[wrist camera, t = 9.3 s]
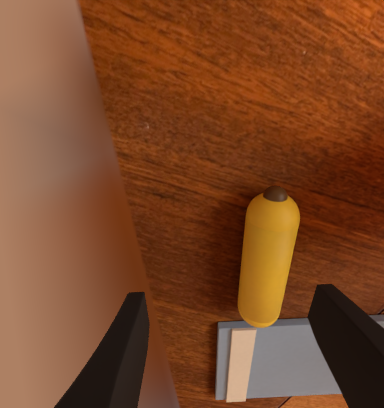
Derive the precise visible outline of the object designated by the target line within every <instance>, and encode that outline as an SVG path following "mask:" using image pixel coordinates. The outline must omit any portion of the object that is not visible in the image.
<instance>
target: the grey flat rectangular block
mask: <svg viewBox="0 0 384 408" xmlns="http://www.w3.org/2000/svg"><path fill="white" fill-rule="evenodd" d="M369 316H370V317H371V318H372V319H373V320H375V321H376V322H377V323H378V324H379V325H381V326H382V327H383V328H384V315H369ZM323 394H342V393H341V391H340V389H339V387H338V385H337V383H336V381H335V379H334V377H333V375H332V373H331V371H330V369H329V367H328V365H327V363H326V361H325V359H324V357H323V355H322V352H321V350H320V348H319V346H318V344H317V342H316V339H315V337H314V334H313V331H312V329H311V326H310V323H309V320H308V318H297V319H277V320H276V321H275V322H274V323H273V324H272V325H270V326H268V327H265V328H257V327H254V326H251V325H250V324H248V323H247V322H246V321H230V322H218V330H217V355H216V380H215V399H216V400H224V399H226V402H241V401H246V398H263V397H283V396H303V395H323Z"/></svg>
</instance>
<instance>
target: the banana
mask: <svg viewBox="0 0 384 408" xmlns="http://www.w3.org/2000/svg"><path fill="white" fill-rule="evenodd" d="M299 222H300V213H299V209H298V207H297V204H296V203H295V202H294V200H293V199H292V198H290V197H289V196H288V195H287V192H286V191H285V190H284V189H283V188H282V187H280V186H271V187H269V188H267V189H266V190H265V192H264V193H261V194H259V195H257V196H256V197H255V198H254V199H253V200H252V201H251V202H250V204H249V205H248V208H247V211H246V218H245V229H244V240H243V250H242V261H241V272H240V282H239V293H238V309H239V312H240V315H241V316H242V318H243V319H244V320H245V321H246V322H247V323H248V324H250V325H251V326H254V327H257V328H265V327H268V326H270V325H272V324H273V323H274V322H275V321H276V320H277V319H278V317H279V314H280V310H281V306H282V301H283V297H284V292H285V287H286V283H287V278H288V273H289V269H290V264H291V260H292V255H293V250H294V246H295V241H296V236H297V232H298V227H299Z"/></svg>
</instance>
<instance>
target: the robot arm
mask: <svg viewBox="0 0 384 408" xmlns="http://www.w3.org/2000/svg"><path fill="white" fill-rule="evenodd" d="M308 320H309V323H310V326H311V329H312V331H313V334H314V337H315V339H316V342H317V344H318V346H319V348H320V350H321V352H322V355H323V357H324V359H325V361H326V363H327V365H328V367H329V369H330V371H331V373H332V375H333V377H334V379H335V381H336V383H337V385H338V387H339V389H340V391H341V393H342V395H343V397H344V399H345V401H346V403H347V405H348V407H349V408H384V328H383V327H382V326H381V325H379V324H378V323H377V322H376V321H375V320H373V319H372V318H371V317H370V316H369V315H367V314H366V313H365V312H364V311H363V310H362V309H360V308H359V307H358V306H357V305H356V304H355V303H353V302H352V301H351V300H350V299H349V298H348V297H347V296H345V295H344V294H343V293H342V292H341V291H340V290H338V289H337V288H336V287H335V286H334V285H332V284H320V285H317V287H316V290H315V294H314V297H313V301H312V304H311V307H310V311H309V314H308ZM148 337H149V318H148V312H147V305H146V300H145V293H144V292H132V293H129V294H127V296H126V298H125V301H124V302H123V304H122V306H121V308H120V310H119V312H118V314H117V316H116V317H115V319H114V321H113V323H112V324H111V326H110V328H109V329H108V331H107V333H106V334H105V336H104V337H103V339H102V341H101V342H100V344H99V346H98V347H97V349H96V350H95V352H94V353H93V355H92V356H91V358H90V359H89V361H88V362H87V364H86V365H85V367H84V368H83V369H82V371H81V372H80V374H79V375H78V377H77V378H76V379H75V381H74V382H73V383H72V385H71V386H70V388H69V389H68V390H67V391H66V393H65V394H64V395H63V397H62V398H61V399H60V400H59V402H58V403H57V404H56V405H55V407H54V408H137V406H138V401H139V395H140V389H141V383H142V378H143V373H144V367H145V361H146V356H147V349H148Z"/></svg>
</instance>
